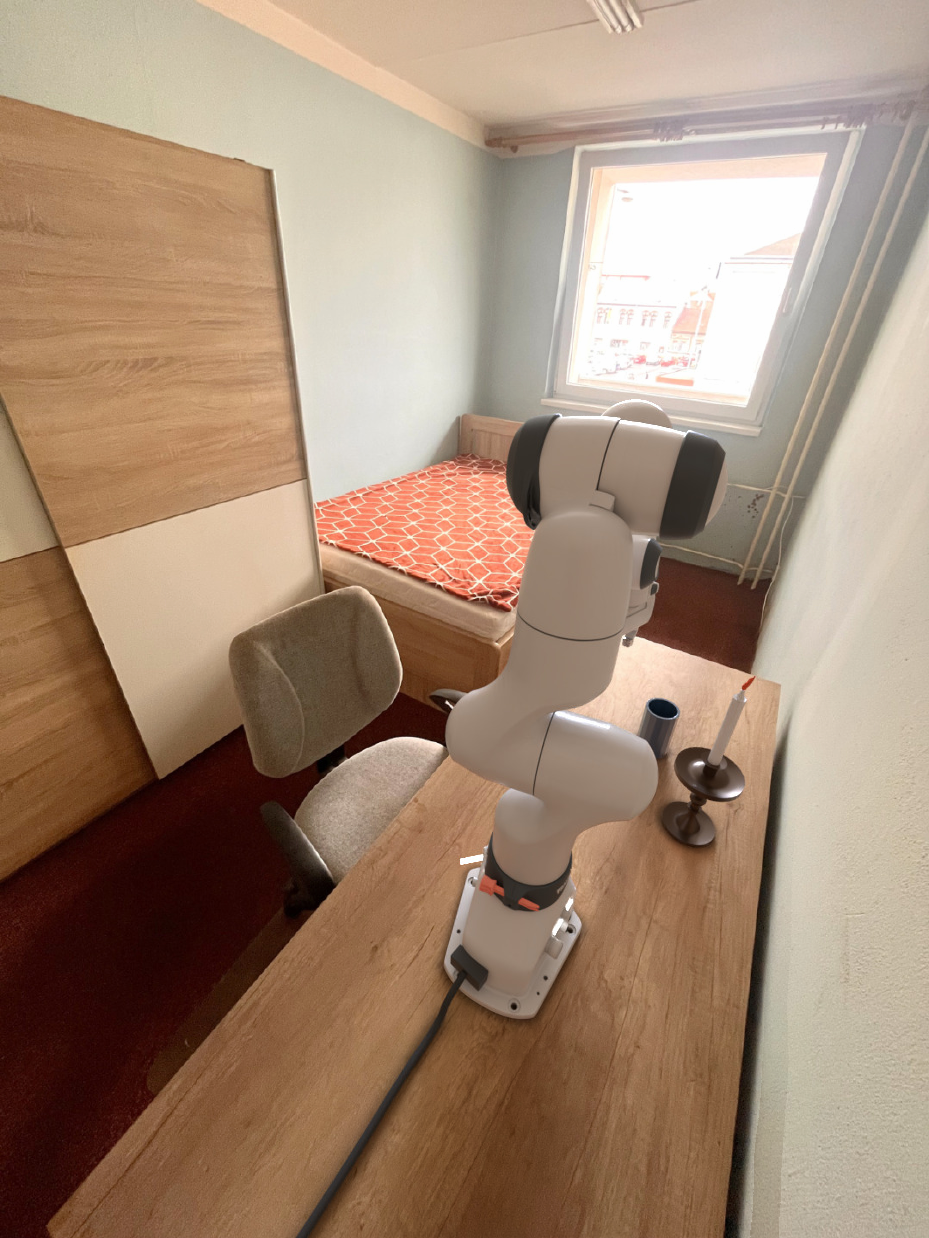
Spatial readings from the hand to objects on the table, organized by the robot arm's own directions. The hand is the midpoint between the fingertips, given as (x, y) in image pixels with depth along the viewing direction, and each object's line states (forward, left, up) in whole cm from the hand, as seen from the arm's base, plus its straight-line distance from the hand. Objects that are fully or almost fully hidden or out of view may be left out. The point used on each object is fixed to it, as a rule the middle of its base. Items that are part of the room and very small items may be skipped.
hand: (615, 652), depth 105 cm
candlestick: (-20, -21, -19) cm, 35 cm away
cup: (-3, -12, -19) cm, 23 cm away
